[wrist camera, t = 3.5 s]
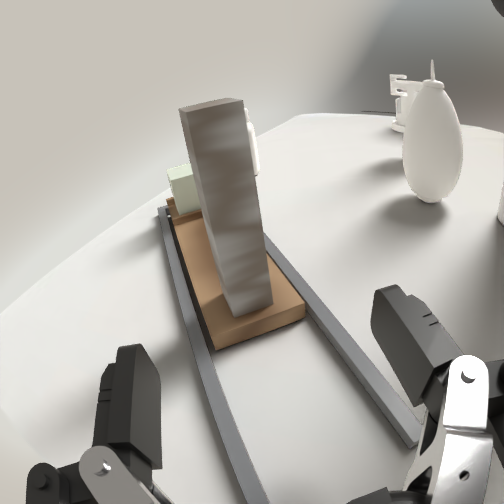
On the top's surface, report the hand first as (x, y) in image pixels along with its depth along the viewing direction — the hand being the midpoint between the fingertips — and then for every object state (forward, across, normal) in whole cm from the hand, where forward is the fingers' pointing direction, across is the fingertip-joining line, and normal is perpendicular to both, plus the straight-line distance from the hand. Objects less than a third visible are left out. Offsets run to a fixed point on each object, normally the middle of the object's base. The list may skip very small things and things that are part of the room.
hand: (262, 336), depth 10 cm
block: (+30, +3, +8) cm, 31 cm away
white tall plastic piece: (+37, -33, +10) cm, 51 cm away
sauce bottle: (+22, -25, +10) cm, 35 cm away
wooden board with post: (+21, +2, +10) cm, 23 cm away
